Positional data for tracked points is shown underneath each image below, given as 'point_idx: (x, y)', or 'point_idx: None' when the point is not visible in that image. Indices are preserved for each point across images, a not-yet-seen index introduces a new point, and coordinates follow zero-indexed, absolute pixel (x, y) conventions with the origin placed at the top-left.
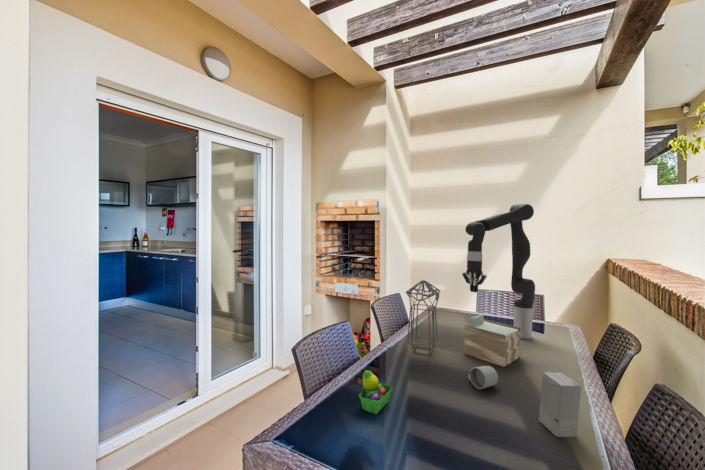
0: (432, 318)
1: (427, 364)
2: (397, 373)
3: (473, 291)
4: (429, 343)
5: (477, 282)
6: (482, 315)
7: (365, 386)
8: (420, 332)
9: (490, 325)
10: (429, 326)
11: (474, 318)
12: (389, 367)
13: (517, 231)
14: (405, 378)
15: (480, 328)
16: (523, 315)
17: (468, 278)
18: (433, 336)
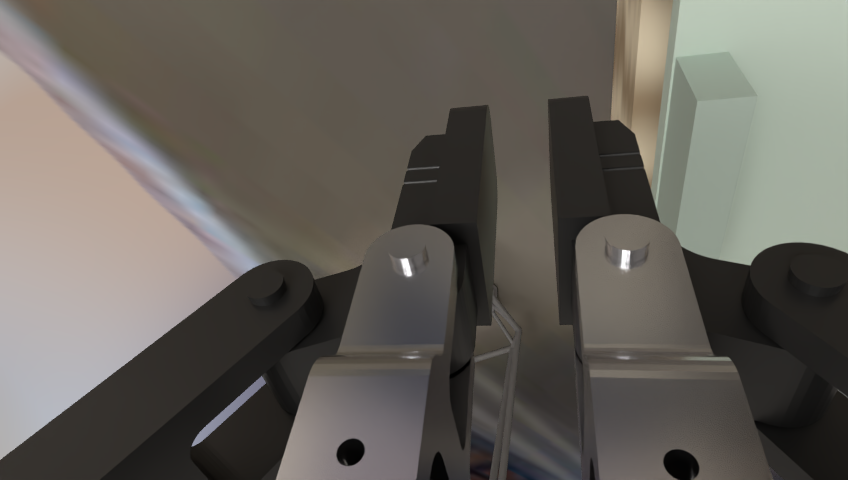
0: (503, 476)
1: (557, 354)
2: (536, 438)
3: (489, 121)
4: (510, 364)
5: (652, 326)
6: (747, 116)
7: None
8: (168, 89)
9: (838, 80)
10: (501, 443)
11: None
12: (488, 430)
13: None
14: (577, 443)
15: (768, 237)
16: None
17: (189, 430)
18: (513, 375)
